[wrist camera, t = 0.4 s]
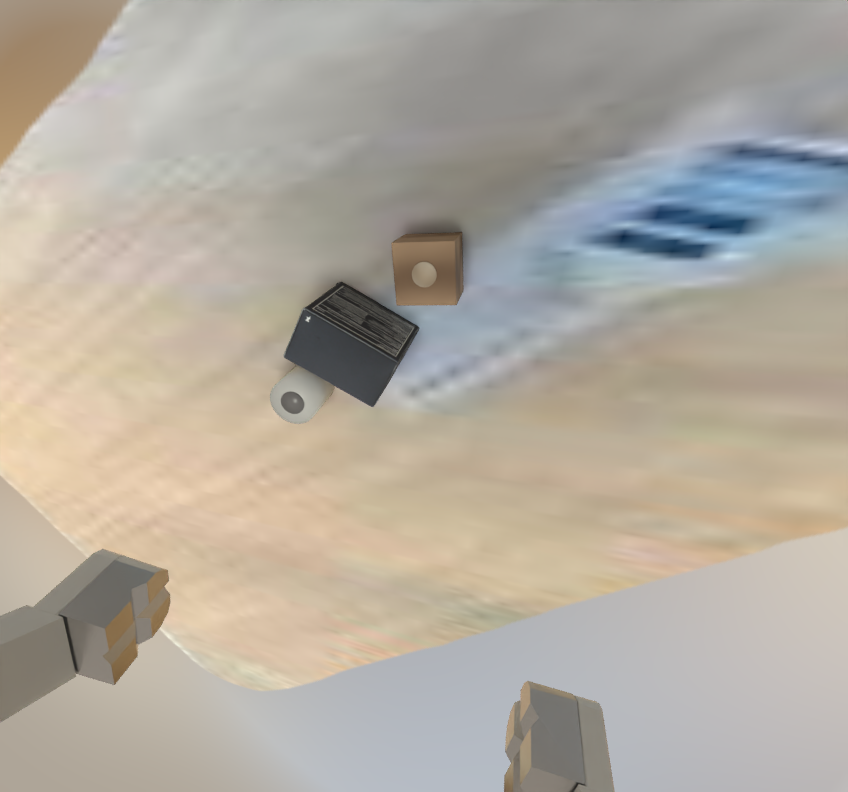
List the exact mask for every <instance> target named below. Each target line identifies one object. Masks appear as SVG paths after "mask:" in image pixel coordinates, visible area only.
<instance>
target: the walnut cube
mask: <svg viewBox="0 0 848 792" xmlns="http://www.w3.org/2000/svg"><path fill="white" fill-rule="evenodd" d="M392 255H393V267H394V279H395V291H396V303H397V305H457V303H458V301H459V299H460V296H461V294H462V292H463V248H462V232H455V233H428V234H405V235H403V236H402V237H400V238H399V239H397V240H395V241H394V242H392Z"/></svg>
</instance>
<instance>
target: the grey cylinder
mask: <svg viewBox="0 0 848 792" xmlns="http://www.w3.org/2000/svg"><path fill="white" fill-rule="evenodd" d="M333 390H334V385H332V384H330V383H329V382H327V381H325V380H323V379H321V378H320V377H318V376H316V375H314V374H313V373H311V372H309V371H307V370H305V369H304V368H302V367H300V366H298V365H297V366H296V367H295V368H293V369H292V370H291V371H290V372H289V373H288V374H287V375H286V376H285V377H283V378H282V379H281V380H280V381H279V382H278V383H277V384H276V385H275V386H274V387H273V388H272V390H271V393H270V401H271V405H272V407H273V409H274V411H275V412H276V413H277V414H278V415H279V416H280V417H281V418H282V419H284V420H285V421H288V422H290V423H294V424H301V423H305V422H308V421H309V420H310V419H312V417H313V416H314V415H315V414H316V413H317V411H318V410H319V409H320V408H321V406H322V405H323V404H324V403H325V402H326V400H327V399H328V398H329V397H330V396H331V394H332V393H333Z"/></svg>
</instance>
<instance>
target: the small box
mask: <svg viewBox="0 0 848 792" xmlns="http://www.w3.org/2000/svg"><path fill="white" fill-rule="evenodd" d="M418 330H419V327H418V326H416V325H414V324H412V323H411V322H409V321H407V320H406V319H404V318H402V317H401V316H399V315H397V314H396V313H394V312H392V311H390V310H389V309H387V308H385V307H384V306H382V305H380V304H378V303H377V302H375V301H373V300H372V299H370V298H368V297H367V296H365V295H363V294H361V293H360V292H358V291H356V290H355V289H353V288H351V287H349V286H347V285H346V284H344V283H342V282H339V283H337V284H336V286H335V287H333V288H332V289H330V290H329V291H328V292H326V293H325V294H324V295H322V296H321V297H319V298H318V299H317V300H315V301H314V302H313V303H311V304H310V305H309V306H307V307H305V308H303V309H302V312H301V314H300V317H299V319H298V322H297V324H296V327H295V329H294V332H293V334H292V336H291V339H290V341H289V344H288V346H287V349H286V351H285V354H284V358H286V359H288V360H289V361H291V362H293V363H295V364H296V365H298V366H300V367H302V368H304V369H305V370H307V371H309V372H311V373H313V374H314V375H316V376H318V377H320V378H321V379H323V380H325V381H327V382H329V383H330V384H332V385H334V386H336V387H337V388H339V389H341V390H343V391H345V392H346V393H348V394H350V395H352V396H353V397H355V398H357V399H359V400H360V401H362V402H364V403H366V404H367V405H369V406H371V407H374V405H375V404H376V402H377V401H378V399H379V397H380V396H381V394H382V393H383V391H384V389H385V388H386V386H387V384H388V383H389V381H390V380H391V378H392V376H393V374H394V372H395V371H396V369H397V367H398V365H399V364H400V362H401V360H402V359H403V357H404V355H405V353H406V351H407V350H408V348H409V346H410V345H411V343H412V341H413V339H414V337H415V336H416V334H417V332H418Z"/></svg>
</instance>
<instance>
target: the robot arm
mask: <svg viewBox="0 0 848 792" xmlns="http://www.w3.org/2000/svg"><path fill="white" fill-rule="evenodd" d="M168 581H169V576H168V570H166V569H163V568H160V567H157V566H154V565H151V564H147V563H144V562H141V561H138V560H135V559H132V558H129V557H126V556H124V555H121V554H117V553H114V552H111V551H108V550H104V549H102V550H100V551H97V552H95V553H93V554H92V555H91V556H90V557H89V558H88V559H86V560H85V561H84V562H83V563H82V564H81V565H80V566H79V567H78V568H76V569H75V570H74V571H73V572H72V573H71V574H70V575H69V576H68V577H66V578H65V579H64V580H63V581H62V582H61V583H60V584H58V585H57V586H56V587H55V588H54V589H53V590H52V591H51V592H50V593H48V594H47V595H46V596H45V597H44V598H43V599H42V600H41V601H39V602H38V603H37V604H36V605H35V606H34V607H31V606H28V605H26V606H24V607H21V608H19V609H16V610H14V611H11V612H9V613H6V614H4V615H2V616H0V722H2V721H4V720H5V719H7V718H9V717H10V716H12V715H14V714H15V713H17V712H19V711H20V710H22V709H23V708H25V707H27V706H28V705H30V704H31V703H33V702H35V701H37V700H38V699H40V698H41V697H43V696H45V695H46V694H48V693H50V692H51V691H53V690H55V689H56V688H58V687H59V686H61V685H63V684H65V683H66V682H68V681H69V680H71V679H73V678H74V677H76V674H79V675H82V676H86V677H89V678H93V679H96V680H99V681H103V682H106V683H110V684H112V685H115V684H116V682H117V681H118V680H119V679H120V677H121V676H122V675H123V674H124V672H125V671H126V670H127V669H128V667H129V666H130V665H131V663H132V662H133V661H134V660H135V658H136V657H137V655H138V644H140V643H142V642H144V641H146V640H148V639H150V638H152V637H153V636H154V634H155V633H156V632H157V630H158V629H159V628H160V626H161V625H162V623H163V621H164V619H165V617H166V615H167V613H168V610H169V606H170V594H169V592H168V591H167V590H166V588H165V587H164V586H165V585H166V584H167V582H168ZM505 752H506V754H507V756H508V758H509V760H510V762H511V765H510V767H509V768H508V770H507V772H506V774H505V778H504V792H614V786H613V779H612V772H611V765H610V758H609V752H608V745H607V739H606V732H605V725H604V719H603V712H602V708H601V706H600V704H599V703H597V702H595V701H592V700H588V699H585V698H581V697H578V696H574V695H573V694H571V693H567V692H564V691H560V690H557V689H554V688H550V687H547V686H543V685H540V684H536V683H533V682H529V681H527V682H525V683H524V685H523V687H522V689H521V700H520V701H517V702H515V703H514V705H513V708H512V710H511V712H510V716H509V720H508V725H507V733H506V747H505Z"/></svg>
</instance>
